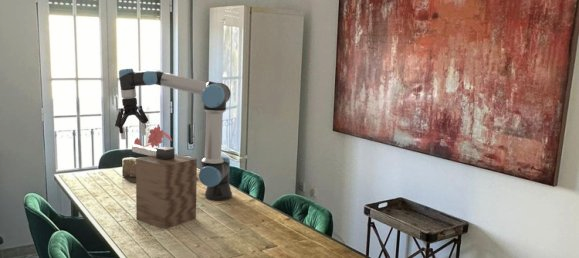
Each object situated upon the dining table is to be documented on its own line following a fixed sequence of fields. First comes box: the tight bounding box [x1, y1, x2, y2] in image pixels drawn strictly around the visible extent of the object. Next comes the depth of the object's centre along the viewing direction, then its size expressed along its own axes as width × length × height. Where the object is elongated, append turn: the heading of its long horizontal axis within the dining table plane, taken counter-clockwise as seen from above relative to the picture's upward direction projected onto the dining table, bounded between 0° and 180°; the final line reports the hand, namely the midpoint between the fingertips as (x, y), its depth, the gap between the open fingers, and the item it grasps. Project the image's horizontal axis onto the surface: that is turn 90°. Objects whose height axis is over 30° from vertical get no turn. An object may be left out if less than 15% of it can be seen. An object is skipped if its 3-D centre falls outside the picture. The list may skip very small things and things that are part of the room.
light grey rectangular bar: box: [131, 144, 175, 160], centre depth 243 cm, size 6×26×5 cm, turn 55°
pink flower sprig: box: [133, 126, 173, 149], centre depth 299 cm, size 15×26×35 cm, turn 147°
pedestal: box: [135, 153, 198, 230], centre depth 239 cm, size 20×20×30 cm
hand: (134, 137), depth 268 cm, fingers open, 13 cm apart
